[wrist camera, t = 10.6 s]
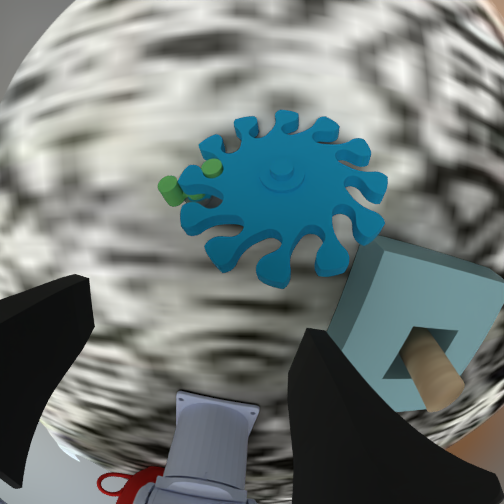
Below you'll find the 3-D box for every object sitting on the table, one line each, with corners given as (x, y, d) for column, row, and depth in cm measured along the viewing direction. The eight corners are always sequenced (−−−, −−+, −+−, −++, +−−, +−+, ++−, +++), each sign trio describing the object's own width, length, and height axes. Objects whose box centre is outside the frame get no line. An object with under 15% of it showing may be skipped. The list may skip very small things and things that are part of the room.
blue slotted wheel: (375, 109, 13) (406, 285, 9) (359, 173, 18) (365, 316, 14) (184, 107, 15) (124, 263, 11) (207, 168, 20) (175, 299, 16)
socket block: (423, 384, 23) (434, 407, 19) (303, 381, 22) (307, 412, 19) (488, 268, 17) (511, 285, 14) (363, 231, 17) (384, 250, 14)
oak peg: (411, 343, 20) (447, 409, 13) (384, 342, 20) (418, 414, 13) (425, 315, 19) (471, 379, 12) (398, 312, 19) (443, 383, 12)
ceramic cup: (117, 438, 29) (97, 490, 20) (216, 478, 32) (210, 528, 23) (104, 456, 34) (88, 496, 24) (185, 490, 36) (177, 530, 27)
